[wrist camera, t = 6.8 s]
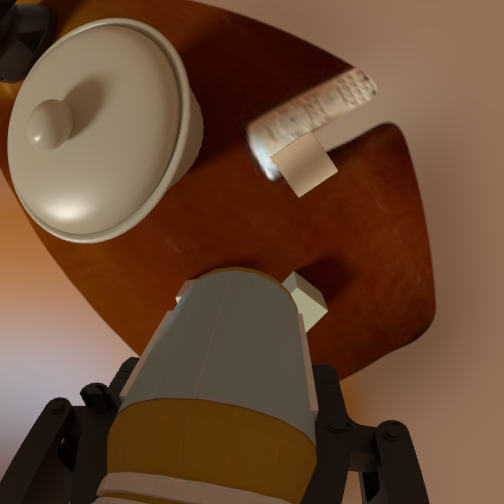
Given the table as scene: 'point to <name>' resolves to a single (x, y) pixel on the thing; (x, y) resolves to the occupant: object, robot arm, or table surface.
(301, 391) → the bottle
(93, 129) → the canister
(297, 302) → the sage cube
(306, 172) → the birch cube
